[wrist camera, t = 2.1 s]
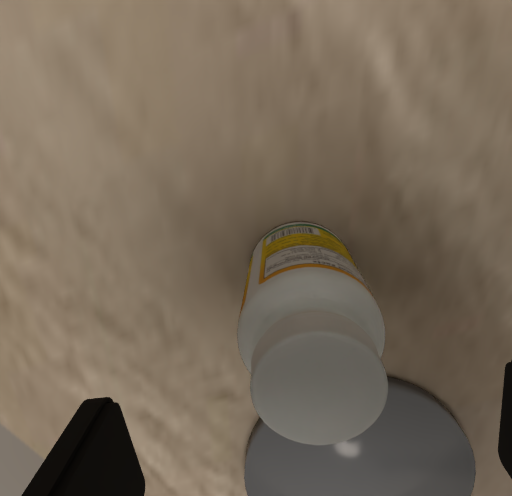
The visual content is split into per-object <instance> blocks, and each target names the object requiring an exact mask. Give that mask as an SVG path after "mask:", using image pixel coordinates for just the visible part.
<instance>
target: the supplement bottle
mask: <svg viewBox="0 0 512 496" xmlns="http://www.w3.org/2000/svg"><path fill="white" fill-rule="evenodd" d="M237 338H238V346H239V351H240V354H241V357H242V360H243V362H244V364H245V366H246V367H247V369H248V371H249V372H250V373H251V382H250V392H251V397H252V401H253V405H254V407H255V409H256V411H257V413H258V415H259V416H260V418H261V419H262V420H263V421H264V423H265V424H267V425H268V427H269V428H271V429H272V430H273V431H275V432H276V433H278V434H280V435H281V436H283V437H285V438H287V439H290V440H293V441H296V442H300V443H304V444H311V445H329V444H336V443H340V442H343V441H347V440H349V439H351V438H354V437H356V436H358V435H359V434H361V433H363V432H364V431H365V430H367V429H368V428H369V427H370V426H371V425H372V424H373V423H374V422H375V421H376V420H377V419H378V417H379V416H380V414H381V412H382V411H383V408H384V406H385V404H386V400H387V395H388V380H387V375H386V371H385V368H384V366H383V363H382V361H381V357H382V354H383V350H384V344H385V326H384V321H383V317H382V314H381V311H380V309H379V306H378V304H377V303H376V301H375V299H374V297H373V295H372V293H371V292H370V290H369V288H368V286H367V284H366V283H365V281H364V279H363V277H362V276H361V274H360V272H359V271H358V269H357V267H356V265H355V263H354V262H353V260H352V258H351V256H350V254H349V253H348V251H347V249H346V247H345V246H344V244H343V243H342V241H341V240H340V239H339V238H338V237H337V236H336V235H335V234H334V233H332V232H331V231H329V230H328V229H326V228H324V227H322V226H320V225H316V224H313V223H307V222H294V223H288V224H284V225H282V226H279V227H277V228H275V229H273V230H272V231H270V232H269V233H268V234H266V235H265V236H264V237H263V238H262V239H261V240H260V242H259V243H258V244H257V246H256V247H255V249H254V251H253V254H252V257H251V260H250V264H249V270H248V275H247V281H246V286H245V291H244V297H243V301H242V306H241V311H240V316H239V321H238V333H237Z"/></svg>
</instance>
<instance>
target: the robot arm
mask: <svg viewBox="0 0 512 496" xmlns="http://www.w3.org/2000/svg"><path fill="white" fill-rule="evenodd" d="M498 453H499V457H500V460H501V462H502V465H503V466H504V468H505V470H506V471H507V472H508V474H509V475H510V477H511V478H512V361H511V362H509V363H507V364H506V367H505V375H504V387H503V398H502V409H501V421H500V432H499V443H498ZM144 493H145V480H144V476H143V473H142V470H141V467H140V464H139V461H138V458H137V455H136V452H135V449H134V447H133V444H132V441H131V438H130V435H129V432H128V429H127V426H126V423H125V420H124V417H123V414H122V411H121V408H120V406H119V404H118V403H114V402H113V400H112V399H111V398H110V397H104V398H94V399H87V400H85V401H84V402H83V403H82V404H81V405H80V407H79V409H78V410H77V412H76V413H75V415H74V416H73V418H72V419H71V421H70V422H69V424H68V425H67V427H66V428H65V430H64V431H63V433H62V435H61V436H60V438H59V439H58V441H57V442H56V444H55V445H54V447H53V448H52V450H51V451H50V453H49V454H48V456H47V457H46V459H45V461H44V462H43V464H42V465H41V467H40V468H39V470H38V471H37V473H36V474H35V476H34V478H33V479H32V480H31V482H30V484H29V485H28V487H27V488H26V490H25V491H24V493H23V494H22V496H144Z"/></svg>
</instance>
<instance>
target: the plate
mask: <svg viewBox="0 0 512 496" xmlns="http://www.w3.org/2000/svg"><path fill="white" fill-rule="evenodd" d="M387 380H388V395H387V400H386V404H385V406H384V408H383V411H382V412H381V414H380V416H379V417H378V419H377V420H376V421H375V422H374V423H373V424H372V425H371V426H370V427H369V428H368V429H367V430H365V431H364V432H363V433H361V434H359V435H358V436H356V437H354V438H351V439H349V440H347V441H343V442H340V443H336V444H329V445H311V444H304V443H300V442H296V441H293V440H290V439H287V438H285V437H283V436H281V435H280V434H278V433H276V432H275V431H273V430H272V429H271V428H269V427H268V425H267V424H265V423H264V421H263V420H262V419H261V418H260V419H259V420H258V422H257V424H256V425H255V427H254V429H253V431H252V433H251V436H250V438H249V441H248V446H247V450H246V461H245V476H244V479H245V487H246V491H247V495H248V496H471V493H472V490H473V487H474V481H475V474H476V472H475V460H474V455H473V451H472V448H471V446H470V444H469V441H468V439H467V438H466V436H465V434H464V433H463V431H462V430H461V428H460V426H459V425H458V423H457V422H456V420H455V418H454V417H453V415H452V414H451V413H450V411H449V410H448V409H447V408H446V407H445V406H444V405H443V404H442V403H441V402H440V401H438V400H437V399H436V398H435V397H434V396H432V395H431V394H429V393H427V392H426V391H424V390H423V389H421V388H419V387H417V386H414V385H412V384H410V383H408V382H405V381H402V380H398V379H395V378H391V377H387Z"/></svg>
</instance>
